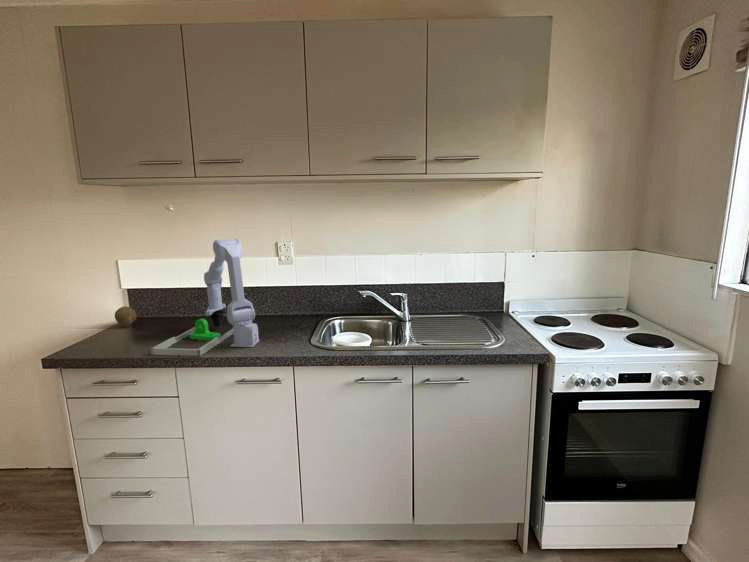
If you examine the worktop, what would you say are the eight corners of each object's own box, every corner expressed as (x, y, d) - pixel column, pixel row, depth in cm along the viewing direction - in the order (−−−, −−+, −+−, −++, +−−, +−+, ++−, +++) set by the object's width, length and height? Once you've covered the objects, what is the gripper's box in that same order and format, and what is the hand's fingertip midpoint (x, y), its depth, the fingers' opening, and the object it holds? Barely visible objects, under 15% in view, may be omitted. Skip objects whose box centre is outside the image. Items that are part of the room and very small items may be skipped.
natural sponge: (128, 323, 201) (125, 304, 199) (142, 324, 199) (139, 304, 197) (112, 328, 192) (109, 308, 191) (126, 329, 190) (123, 309, 188)
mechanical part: (189, 339, 175) (187, 321, 173) (199, 335, 180) (197, 317, 179) (210, 342, 170) (209, 323, 169) (220, 337, 176) (219, 320, 174)
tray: (218, 343, 167) (218, 337, 167) (200, 356, 154) (199, 349, 153) (173, 342, 170) (172, 337, 169) (151, 354, 156) (150, 348, 156)
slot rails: (240, 329, 187) (239, 325, 187) (218, 343, 167) (218, 339, 167) (199, 328, 189) (198, 324, 189) (173, 342, 170) (172, 338, 170)
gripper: (214, 294, 192) (217, 321, 194) (198, 301, 177) (201, 331, 180) (228, 294, 191) (231, 322, 193) (213, 301, 177) (216, 331, 179)
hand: (217, 326), depth 187 cm, fingers closed
